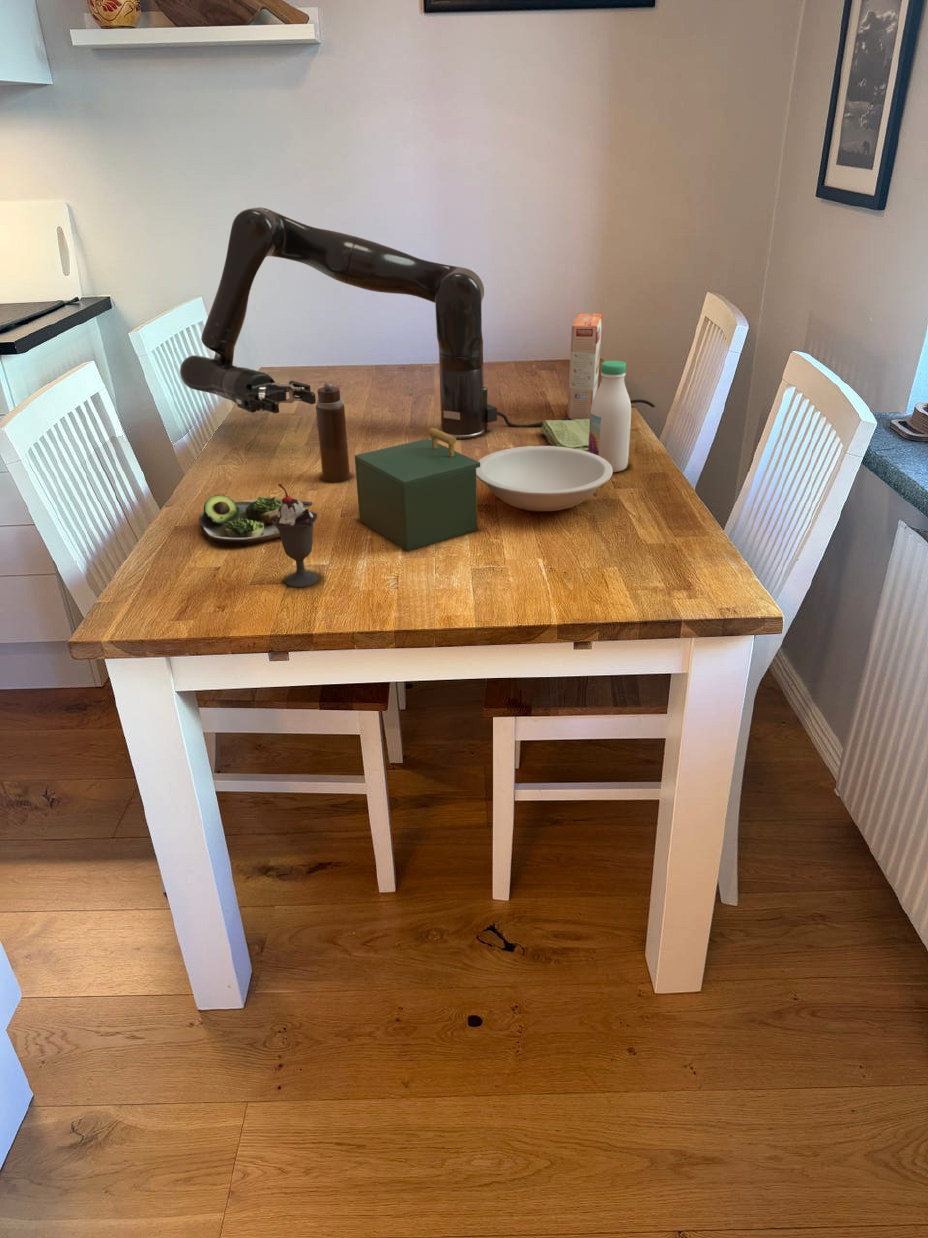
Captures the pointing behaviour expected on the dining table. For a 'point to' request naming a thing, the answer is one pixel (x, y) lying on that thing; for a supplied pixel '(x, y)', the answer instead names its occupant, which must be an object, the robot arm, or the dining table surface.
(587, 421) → the washcloth
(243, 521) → the salad plate
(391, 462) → the bin lid
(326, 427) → the pepper mill
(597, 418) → the milk bottle
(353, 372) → the dining table surface
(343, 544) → the dining table surface
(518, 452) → the soup bowl
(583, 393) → the cracker box
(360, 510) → the bin
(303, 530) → the sundae
